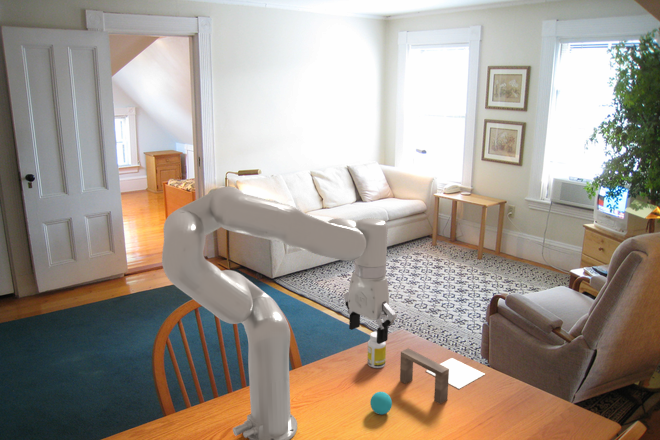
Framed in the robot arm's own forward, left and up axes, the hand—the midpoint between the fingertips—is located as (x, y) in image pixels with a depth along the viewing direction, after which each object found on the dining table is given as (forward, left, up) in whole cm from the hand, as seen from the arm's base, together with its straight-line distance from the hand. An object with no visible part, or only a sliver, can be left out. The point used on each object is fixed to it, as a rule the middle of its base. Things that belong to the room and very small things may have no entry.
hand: (367, 334), depth 131 cm
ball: (+2, -3, -18) cm, 19 cm away
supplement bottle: (+18, +15, -21) cm, 32 cm away
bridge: (+18, -3, -21) cm, 28 cm away
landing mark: (+32, -3, -21) cm, 38 cm away
